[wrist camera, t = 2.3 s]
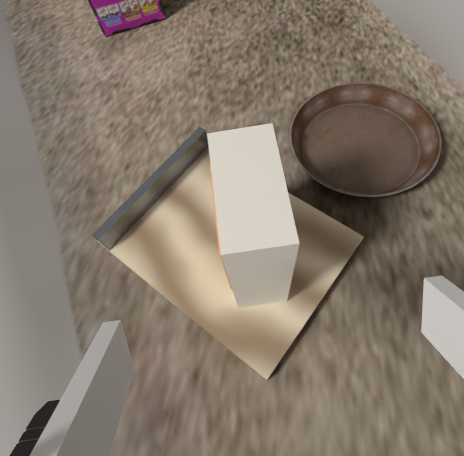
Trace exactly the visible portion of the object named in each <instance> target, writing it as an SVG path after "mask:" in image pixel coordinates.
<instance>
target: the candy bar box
mask: <svg viewBox="0 0 464 456" xmlns="http://www.w3.org/2000/svg"><path fill="white" fill-rule="evenodd" d="M88 1H89V4H90V6H91V8H92V10H93V12H94V14H95V16H96V19H97V21H98V23H99V25H100V28H101V30H102V32H103V34H104V36H105V37H106V36H110V35H113V34H117V33H120V32H123V31H127V30H130V29H133V28H136V27H140V26H143V25H146V24H149V23H152V22H156V21H159V20H162V19H165V18H166V16H165V12H164V8H163V5H162V1H161V0H88Z"/></svg>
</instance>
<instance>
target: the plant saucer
mask: <svg viewBox="0 0 464 456" xmlns="http://www.w3.org/2000/svg"><path fill="white" fill-rule="evenodd" d="M290 145H291V149H292V152H293V154H294V156H295V158H296V160H297V162H298V163H299V164H300V166H301V167H302V168H303V169H304V170H305V172H306V173H307V174H308V175H309V176H311V177H312V178H313V179H314V180H316V181H317V182H318V183H320V184H321V185H323V186H325V187H327V188H329V189H331V190H333V191H336V192H339V193H342V194H345V195H350V196H355V197H382V196H388V195H393V194H396V193H400V192H403V191H405V190H408V189H410V188H412V187H414V186H415V185H417V184H418V183H420V182H421V181H423V180H424V179H425V178H426V177H427V176H428V175H429V174H430V173H431V172H432V170H433V169H434V168H435V166H436V164H437V162H438V160H439V157H440V154H441V147H442V140H441V134H440V130H439V128H438V125H437V123H436V121H435V119H434V118H433V116H432V115H431V114H430V112H429V111H428V110H427V109H426V108H425V107H424V106H423V105H422V104H421V103H420V102H418V101H417V100H416V99H414V98H413V97H411V96H409V95H408V94H406V93H404V92H402V91H400V90H397V89H394V88H392V87H389V86H385V85H380V84H375V83H363V82H358V83H346V84H341V85H336V86H333V87H329V88H327V89H325V90H322V91H320V92H318V93H316V94H315V95H313V96H312V97H310V98H309V99H308V100H306V101H305V102H304V103H303V104H302V105H301V107H300V108H299V109H298V111H297V112H296V114H295V116H294V118H293V120H292V123H291V127H290Z"/></svg>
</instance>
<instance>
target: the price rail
mask: <svg viewBox="0 0 464 456" xmlns="http://www.w3.org/2000/svg"><path fill="white" fill-rule="evenodd" d="M208 147H209V146H208V139H207V134H206V130H204V129H202V128H201V127H199V128H198V129H197V130H196V131H195V132H194V133H193V134H192V135H191V136H190V137H189V138H188V139H187V140H186V141H185V142H184V143H183V144H182V145H181V146H180V147H179V148H178V149H177V150H176V151H175V152H174V153H173V154H172V155H171V156H170V157H169V158H168V159H167V160H166V161H165V162H164V163H163V164H162V165H161V166H160V167H159V168H158V169H157V170H156V171H155V172H154V173H153V174H152V175H151V176H150V177H149V178H148V179H147V180H146V181H145V182H144V183H143V184H142V185H141V186H140V187H139V188H138V189H137V190H136V191H135V192H134V193H133V194H132V195H131V196H130V197H129V198H128V199H127V200H126V201H125V202H124V203H123V204H122V205H121V206H120V207H119V208H118V209H117V210H116V211H115V212H114V213H113V214H112V215H111V216H110V217H109V219H108V220H107V221H106V222H105V223H104V224H103V225H102V226H101V227H100V228H99V229H98V230H97V231H96V232H95V233H94V234H93V235H92V236H93V237H94V238H95V239H96V240H98V241H99V242H100V243H101V244H102V245H103V246H104V247H105V248H107V249H108V250H109V251H110V250H111V249H112V248H113V247H114V246H115V244H116V243H117V242H118V241H119V240H120V239H121V238H122V237H123V236H124V235H125V234H126V233H127V232H128V231H129V230H130V229H131V228H132V227H133V226H134V225H135V224H136V222H137V221H138V220H139V219H140V218H141V217H142V216H143V215H144V214H145V213H146V212H147V211H148V210H149V209H150V208H151V207H152V206H153V205H154V204H155V203H156V202H157V200H158V199H159V198H160V197H161V196H162V195H163V194H164V193H165V192H166V191H167V190H168V189H169V188H170V187H171V186H172V185H173V184H174V183H175V182H176V181H177V180H178V178H179V177H180V176H181V175H182V174H183V173H184V172H185V171H186V170H187V169H188V168H189V167H190V166H191V165H192V164H193V163H194V162H195V161H196V160H197V159H198V158H199V156H200V155H201V154H202V153H203V152H204V151H205V150H206V149H207V148H208Z"/></svg>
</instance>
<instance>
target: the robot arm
mask: <svg viewBox="0 0 464 456" xmlns="http://www.w3.org/2000/svg"><path fill="white" fill-rule="evenodd" d="M421 332H422V333H423V335H424V336H425V337H426V338H427V339H428V340H429V341H430V342H431V343H432V344H433V346H434V347H435V348H436V349H437V350H438V351H439V352H440V353H441V354H442V356H443V357H444V358H445V359H446V360H447V361H448V362H449V363H450V364H451V365H452V367H453V368H454V369H455V370H456V371H457V372H458V373H459V374H460V375H461V376H462V378H463V379H464V292H463V291H462V290H461V289H459V288H458V287H457V286H455V285H454V284H453V283H451V282H450V281H449V280H447V279H446V278H445V277H443V276H435V277H427V278H424V288H423V309H422V330H421ZM134 373H135V370H134V366H133V363H132V359H131V356H130V352H129V349H128V345H127V342H126V338H125V334H124V331H123V327H122V324H121V320H117V321H110V322H103V323H102V325H101V327H100V329H99V331H98V332H97V334H96V336H95V338H94V340H93V341H92V343H91V345H90V347H89V349H88V351H87V352H86V354H85V356H84V358H83V360H82V361H81V363H80V365H79V367H78V369H77V371H76V372H75V374H74V376H73V378H72V380H71V381H70V384H69V385H68V387H67V389H66V391H65V392H64V394H63V396H62V398H61V400H55V401H48V402H47V403H46V404H45V405H44V406H43V407H42V408H41V409H40V410H39V411H38V412H37V413H36V414H35V415H34V417H33V418H32V420H31V422H30V423H29V425H28V426H27V428H26V431H25V432H24V433H23V435H22V436H21V438H20V440H19V443H18V444H17V445H16V447H15V448H14V450H13V451H12V453H11V454H10V456H108V453H109V450H110V447H111V444H112V441H113V438H114V434H115V431H116V428H117V425H118V422H119V419H120V416H121V413H122V410H123V407H124V404H125V401H126V397H127V394H128V391H129V388H130V385H131V382H132V379H133V376H134Z"/></svg>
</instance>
